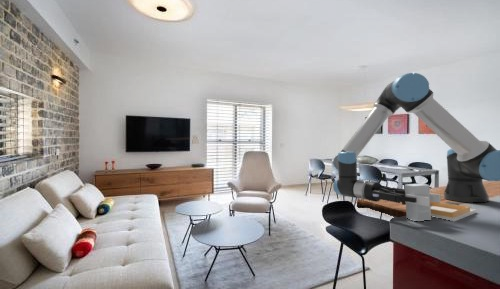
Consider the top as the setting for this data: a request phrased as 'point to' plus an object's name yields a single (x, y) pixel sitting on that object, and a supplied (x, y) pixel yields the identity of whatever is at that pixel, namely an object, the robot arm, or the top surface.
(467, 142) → the robot arm
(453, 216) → the shallow wooden tray
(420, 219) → the skincare box
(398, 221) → the top surface
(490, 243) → the top surface
